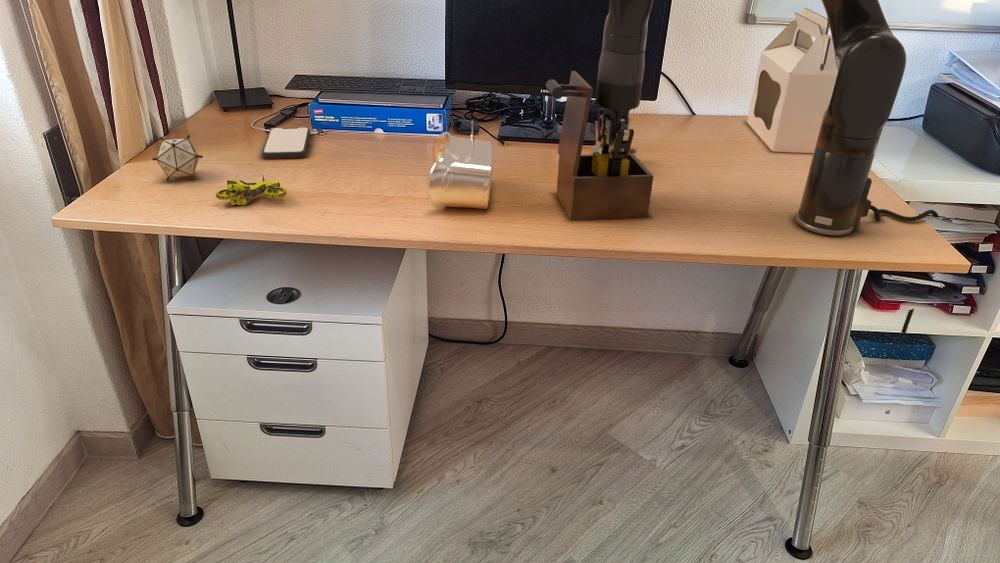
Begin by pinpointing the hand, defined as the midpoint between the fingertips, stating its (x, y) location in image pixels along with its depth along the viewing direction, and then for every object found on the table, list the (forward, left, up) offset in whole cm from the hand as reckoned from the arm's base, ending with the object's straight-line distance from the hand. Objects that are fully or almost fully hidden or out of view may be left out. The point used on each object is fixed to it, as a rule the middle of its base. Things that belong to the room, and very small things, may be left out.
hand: (609, 173), depth 128 cm
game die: (+78, -20, -7) cm, 81 cm away
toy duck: (0, 0, 0) cm, 0 cm away
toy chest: (+1, 0, -6) cm, 6 cm away
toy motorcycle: (+63, -8, -7) cm, 64 cm away
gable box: (-55, -35, -7) cm, 65 cm away
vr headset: (+26, -7, -7) cm, 28 cm away
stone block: (-7, -19, -7) cm, 21 cm away
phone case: (+60, -37, -7) cm, 71 cm away
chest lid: (+7, 0, +9) cm, 12 cm away
